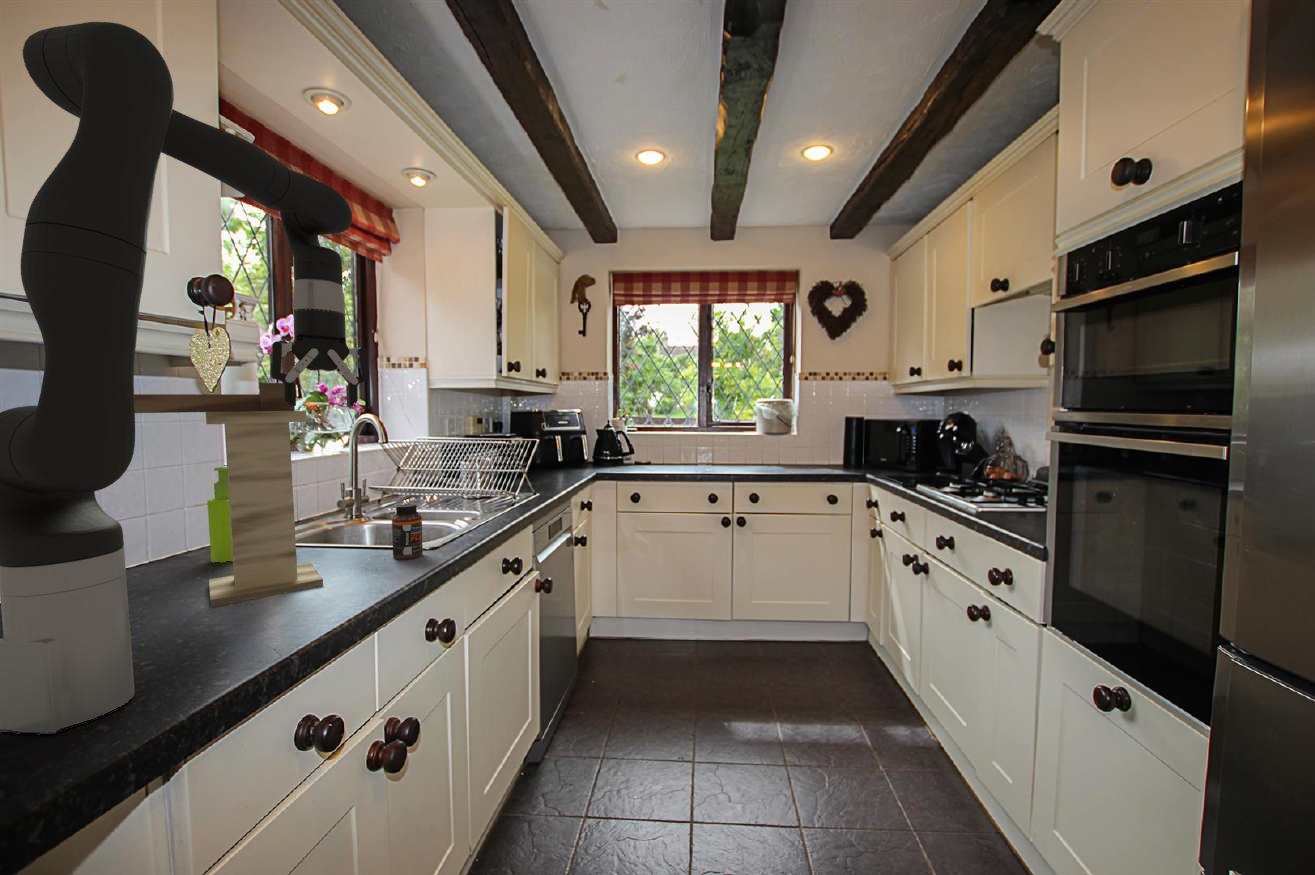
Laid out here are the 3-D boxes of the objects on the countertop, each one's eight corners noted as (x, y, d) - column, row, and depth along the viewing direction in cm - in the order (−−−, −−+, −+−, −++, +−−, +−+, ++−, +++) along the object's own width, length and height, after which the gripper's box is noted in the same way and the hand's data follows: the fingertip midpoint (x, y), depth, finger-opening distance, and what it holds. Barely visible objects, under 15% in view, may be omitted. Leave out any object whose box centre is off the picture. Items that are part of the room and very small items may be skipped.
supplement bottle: (415, 560, 116) (413, 507, 116) (387, 560, 116) (385, 507, 116) (427, 552, 122) (425, 502, 121) (401, 552, 122) (399, 502, 122)
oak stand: (323, 585, 101) (314, 410, 99) (210, 607, 90) (198, 412, 88) (311, 568, 111) (302, 410, 109) (209, 585, 101) (198, 411, 99)
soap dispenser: (226, 564, 115) (220, 469, 113) (204, 561, 117) (198, 468, 116) (255, 556, 120) (249, 465, 119) (234, 553, 123) (228, 464, 121)
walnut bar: (294, 410, 100) (293, 383, 99) (128, 413, 87) (126, 381, 86) (293, 410, 104) (291, 384, 103) (133, 412, 91) (131, 382, 90)
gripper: (271, 301, 86) (274, 405, 87) (371, 312, 95) (373, 406, 96) (266, 309, 92) (269, 406, 92) (360, 318, 101) (363, 406, 102)
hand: (322, 406), depth 94 cm, fingers open, 8 cm apart
